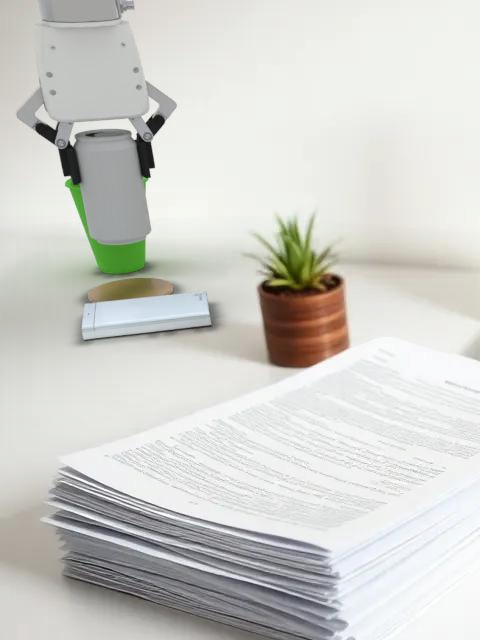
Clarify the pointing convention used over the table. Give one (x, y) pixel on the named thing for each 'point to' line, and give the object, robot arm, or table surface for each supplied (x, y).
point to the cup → (110, 256)
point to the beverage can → (112, 186)
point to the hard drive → (145, 315)
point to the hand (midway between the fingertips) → (111, 177)
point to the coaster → (130, 289)
